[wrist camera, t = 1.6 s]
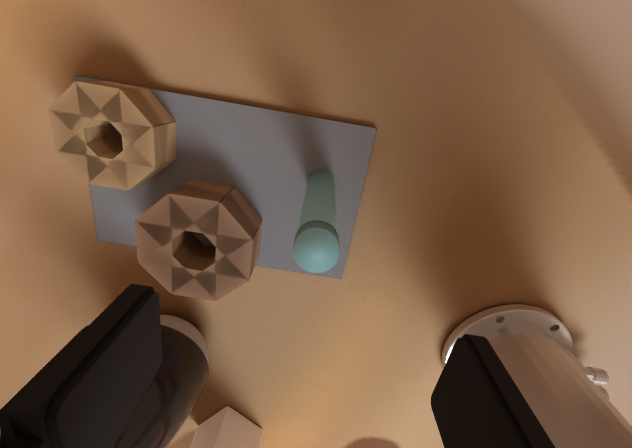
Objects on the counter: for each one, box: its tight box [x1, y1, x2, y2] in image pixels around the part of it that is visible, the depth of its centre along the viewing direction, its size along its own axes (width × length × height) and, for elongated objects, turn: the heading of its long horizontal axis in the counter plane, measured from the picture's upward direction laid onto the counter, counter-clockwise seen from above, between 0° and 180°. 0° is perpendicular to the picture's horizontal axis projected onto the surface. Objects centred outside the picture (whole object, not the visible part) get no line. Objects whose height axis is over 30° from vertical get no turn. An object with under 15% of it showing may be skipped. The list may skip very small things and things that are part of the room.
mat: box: [75, 76, 377, 279], centre depth 27 cm, size 23×14×1 cm, turn 81°
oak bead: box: [49, 81, 177, 190], centre depth 23 cm, size 7×7×4 cm
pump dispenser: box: [112, 315, 209, 448], centre depth 27 cm, size 10×10×15 cm
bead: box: [134, 179, 263, 301], centre depth 26 cm, size 9×9×4 cm
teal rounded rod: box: [293, 170, 340, 273], centre depth 21 cm, size 2×2×12 cm
